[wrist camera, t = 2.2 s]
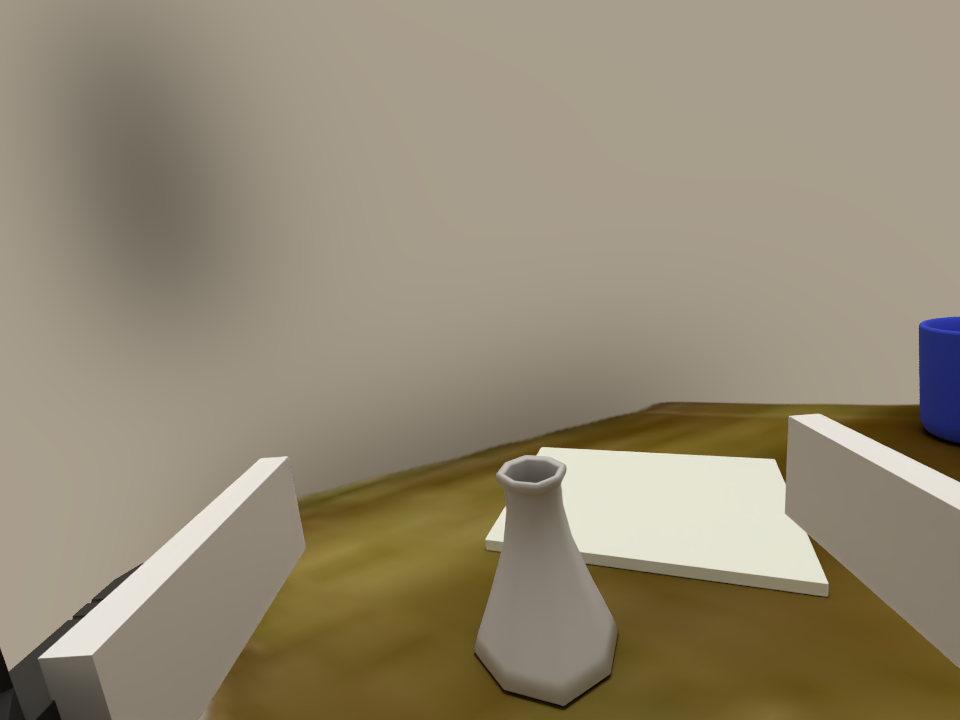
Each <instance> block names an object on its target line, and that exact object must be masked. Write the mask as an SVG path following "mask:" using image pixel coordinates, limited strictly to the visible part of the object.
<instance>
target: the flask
mask: <svg viewBox="0 0 960 720" xmlns="http://www.w3.org/2000/svg"><path fill="white" fill-rule="evenodd" d="M566 470H567V468H566V465H565V464H563V463H561V462H559V461H557V460H555V459H553V458H551V457H545V456H531V455H525V456H522V457H519V458H516V459H513V460H511V461H508V462H505V463H504V465H503V466H502V467H501V468H500V470H499V471H498V472H497V474H496V477H497V481H498V483H499V484H500V485H502V486H503V487H504V491H505V502H506V520H505V530H504V541H503V547H502V551H501V555H500V559H499V563H498V566H497V570H496V574H495V578H494V582H493V586H492V589H491V593H490V596H489V600H488V603H487V606H486V610H485V613H484V616H483V619H482V623H481V626H480V629H479V632H478V636H477V640H476V643H475V647H474V652H475V653H476V654H477V656H478V657H479V658H480V660H481V661H482V662H483V663H484V665H485V666H486V667H487V669H488V670H489V671H490V672H491V674H492V675H493V676H494V678H495V679H496V680H497V682H498V683H499V684H500V685H501V687H502V688H503V689H504V690H507V691H511V692H514V693H518V694H522V695H525V696H529V697H533V698H536V699H540V700H544V701H547V702H551V703H555V704H558V705H562V706H565V705H566V704H567V703H569V702H570V701H572V700H573V699H575V698H576V697H578V696H579V695H581V694H582V693H583V692H585V691H586V690H588V689H589V688H591V687H592V686H594V685H595V684H596V683H598V682H599V681H601V680H602V679H604V678H605V677H607V676H608V675H609V674H611V669H612V663H613V657H614V652H615V646H616V640H617V635H618V628H617V626H616V624H615V621H614V619H613V617H612V615H611V613H610V611H609V609H608V608H607V606H606V604H605V602H604V600H603V598H602V596H601V594H600V592H599V590H598V589H597V587H596V585H595V583H594V581H593V579H592V577H591V575H590V573H589V571H588V569H587V566H586V564H585V562H584V560H583V558H582V556H581V554H580V552H579V550H578V547H577V545H576V543H575V541H574V539H573V537H572V534H571V531H570V527H569V523H568V520H567V516H566V513H565V509H564V506H563V498H562V488H561V482H562V480H563V478H564V476H565V474H566Z"/></svg>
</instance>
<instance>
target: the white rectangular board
mask: <svg viewBox="0 0 960 720" xmlns="http://www.w3.org/2000/svg"><path fill="white" fill-rule="evenodd" d="M537 456H545V457H551V458H553V459H555V460H557V461H559V462H561V463H563V464H565V465H566V468H567V470H566V474H565V476H564V478H563V480H562V482H561V488H562V498H563V506H564V509H565V513H566V516H567V520H568V523H569V527H570V531H571V534H572V537H573V539H574V541H575V543H576V545H577V547H578V550H579V552H580V554H581V556H582V558H583V560H584V562H585V563H586V564H593V565H600V566H607V567H615V568H622V569H629V570H637V571H644V572H651V573H658V574H666V575H673V576H680V577H687V578H695V579H702V580H709V581H716V582H724V583H731V584H738V585H745V586H753V587H760V588H767V589H774V590H782V591H789V592H796V593H804V594H811V595H818V596H825V597H828V588H829V584H828V581H827V579H826V577H825V574H824V572H823V570H822V567H821V565H820V563H819V561H818V558H817V556H816V554H815V551H814V549H813V547H812V544H811V542H810V540H809V537H808V535H807V533H806V532H805V531H804V530H803V529H802V528H801V527H799V526H798V525H797V524H796V523H795V522H794V521H793V520H792V519H790V518H789V517H788V516H787V515H786V514H785V495H786V484H785V482H784V480H783V477H782V475H781V473H780V470H779V468H778V466H777V464H776V461H775V459H759V458H740V457H720V456H701V455H682V454H662V453H643V452H624V451H604V450H585V449H566V448H546V447H542V448H541V449H540V451H539V452H538V454H537ZM505 520H506V506H505V508H504V510H503V511H502V513H501V515H500V516H499V518H498V519H497V521H496V523H495V524H494V526H493V528H492V529H491V531H490V533H489V534H488V536H487V537H486V539H485V542H486V550H491V551H499V552H501V551H502V547H503V541H504V530H505Z"/></svg>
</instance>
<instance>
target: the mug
mask: <svg viewBox="0 0 960 720" xmlns="http://www.w3.org/2000/svg"><path fill="white" fill-rule="evenodd" d="M919 375H920V376H919V377H920V418H921V422H922V424H923V426H924V428H925V429H926V430H927V431H928V432H930V433H931V434H933V435H935V436H937V437H939V438H942V439H944V440H948V441H951V442H955V443H959V444H960V317H947V318H937V319H931V320H926V321H923V322H922V323H920V325H919Z"/></svg>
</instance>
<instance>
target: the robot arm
mask: <svg viewBox="0 0 960 720" xmlns="http://www.w3.org/2000/svg"><path fill="white" fill-rule="evenodd" d="M785 514H786V515H787V516H788V517H789V518H790V519H792V520H793V521H794V522H795V523H796V524H797V525H798V526H799V527H801V528H802V529H803V530H804V531H805V532H806V533H807V534H809V535H810V536H811V537H812V538H813V539H814V540H815V541H816V542H818V543H819V544H820V545H821V546H822V547H823V548H824V549H825V550H827V551H828V552H829V553H830V554H831V555H832V556H833V557H834V558H836V559H837V560H838V561H839V562H840V563H841V564H842V565H843V566H845V567H846V568H847V569H848V570H849V571H850V572H851V573H853V574H854V575H855V576H856V577H857V578H858V579H859V580H860V581H862V582H863V583H864V584H865V585H866V586H867V587H868V588H869V589H871V590H872V591H873V592H874V593H875V594H876V595H877V596H878V597H880V598H881V599H882V600H883V601H884V602H885V603H886V604H887V605H889V606H890V607H891V608H892V609H893V610H894V611H895V612H897V613H898V614H899V615H900V616H901V617H902V618H903V619H904V620H906V621H907V622H908V623H909V624H910V625H911V626H912V627H913V628H915V629H916V630H917V631H918V632H919V633H920V634H921V635H922V636H924V637H925V638H926V639H927V640H928V641H929V642H930V643H932V644H933V645H934V646H935V647H936V648H937V649H938V650H939V651H941V652H942V653H943V654H944V655H945V656H946V657H947V658H948V659H950V660H951V661H952V662H953V663H954V664H955V665H956V666H957V667H959V668H960V482H958V481H956V480H954V479H951V478H949V477H947V476H945V475H943V474H941V473H939V472H937V471H935V470H933V469H931V468H929V467H927V466H925V465H923V464H921V463H919V462H917V461H915V460H913V459H911V458H909V457H907V456H905V455H903V454H900V453H898V452H896V451H894V450H892V449H890V448H888V447H886V446H884V445H882V444H880V443H878V442H876V441H874V440H872V439H870V438H868V437H866V436H864V435H862V434H860V433H858V432H856V431H854V430H852V429H849V428H847V427H845V426H843V425H841V424H839V423H837V422H835V421H833V420H831V419H829V418H827V417H825V416H823V415H821V414H810V415H797V416H789V424H788V448H787V471H786V495H785ZM305 549H306V546H305V541H304V536H303V530H302V525H301V520H300V514H299V509H298V504H297V498H296V493H295V489H294V483H293V477H292V472H291V467H290V462H289V457H288V456H287V457H274V458H262V459H260V460H259V461H258V462H256V463H255V464H254V465H253V466H252V467H251V468H250V469H248V470H247V472H245V473H244V474H243V475H242V476H241V477H240V478H238V479H237V480H236V481H235V482H234V483H233V484H232V485H231V486H230V487H228V488H227V489H226V490H225V491H224V492H223V493H222V494H221V495H220V496H218V497H217V498H216V499H215V500H214V501H213V502H212V503H211V504H210V505H208V506H207V507H206V508H205V509H204V510H203V511H202V512H201V513H199V515H197V516H196V517H195V518H194V519H193V520H192V521H191V522H189V523H188V524H187V525H186V526H185V527H184V528H183V529H182V530H180V531H179V533H177V534H176V535H175V536H174V537H173V538H172V539H170V540H169V541H168V542H167V543H166V544H165V545H164V546H163V547H162V548H161V549H159V550H158V551H157V552H156V553H155V554H154V555H153V556H152V557H151V558H150V559H148V560H147V561H146V562H145V563H142V564H140V565H139V566H137V567H135V568H134V569H132V570H130V571H129V572H127V573H125V574H124V575H122V576H120V577H119V578H117V579H115V580H114V581H113V582H111V583H110V584H109V585H108V586H107V587H106V588H105V589H103V590H102V591H101V592H100V593H99V594H98V595H97V596H95V597H94V598H93V599H92V602H91V603H88V604H86V605H85V606H84V607H83V608H82V609H80V610H79V611H78V612H77V613H76V614H75V615H74V616H73V619H72V620H68V621H67V622H65V623H64V624H63V625H62V626H61V627H60V628H59V629H57V630H56V631H55V632H54V633H53V634H52V635H51V636H49V637H48V638H47V639H46V640H45V641H44V642H43V643H41V644H40V645H39V646H38V647H37V648H36V649H35V650H33V651H32V652H31V653H30V654H29V655H28V656H27V657H25V658H24V659H23V660H22V661H21V662H20V663H19V664H17V665H16V666H15V667H14V668H13V669H12V670H10V671H9V672H8V669H7V666H6V664H5V660H4V658H3V655H2V652H1V649H0V720H199V719H200V717H201V716H202V714H203V712H204V711H205V709H206V708H207V706H208V704H209V703H210V701H211V700H212V698H213V696H214V695H215V693H216V692H217V690H218V688H219V687H220V685H221V683H222V682H223V680H224V679H225V677H226V675H227V674H228V672H229V671H230V669H231V667H232V666H233V664H234V663H235V661H236V659H237V658H238V656H239V655H240V653H241V651H242V650H243V648H244V647H245V645H246V643H247V642H248V640H249V639H250V637H251V635H252V634H253V632H254V631H255V629H256V627H257V626H258V624H259V623H260V621H261V619H262V618H263V616H264V615H265V613H266V611H267V610H268V608H269V607H270V605H271V603H272V602H273V600H274V598H275V597H276V595H277V594H278V592H279V590H280V589H281V587H282V586H283V584H284V582H285V581H286V579H287V578H288V576H289V574H290V573H291V571H292V570H293V568H294V566H295V565H296V563H297V562H298V560H299V558H300V557H301V555H302V554H303V552H304V550H305Z"/></svg>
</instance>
